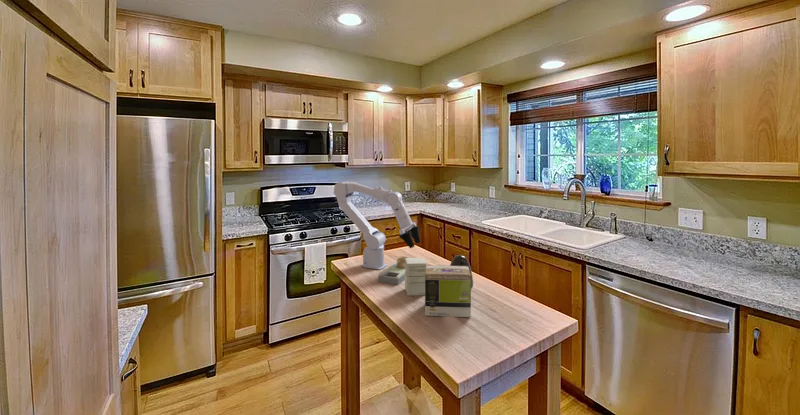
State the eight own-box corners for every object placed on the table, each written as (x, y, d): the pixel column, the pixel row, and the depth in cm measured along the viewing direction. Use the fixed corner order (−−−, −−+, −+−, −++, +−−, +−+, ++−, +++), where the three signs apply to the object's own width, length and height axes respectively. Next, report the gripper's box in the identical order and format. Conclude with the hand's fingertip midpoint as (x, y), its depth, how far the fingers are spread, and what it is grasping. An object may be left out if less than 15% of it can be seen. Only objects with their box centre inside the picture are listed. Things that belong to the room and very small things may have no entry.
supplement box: (404, 288, 143) (404, 257, 141) (423, 287, 144) (423, 257, 142) (406, 295, 136) (406, 263, 134) (426, 295, 137) (426, 263, 135)
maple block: (397, 267, 161) (397, 258, 161) (400, 264, 165) (400, 256, 164) (405, 268, 160) (405, 259, 159) (408, 265, 163) (408, 257, 162)
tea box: (468, 305, 128) (469, 265, 125) (470, 318, 118) (472, 275, 116) (425, 303, 129) (425, 263, 127) (424, 316, 119) (424, 273, 117)
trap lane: (378, 281, 151) (378, 273, 150) (402, 264, 172) (402, 257, 172) (398, 284, 147) (398, 276, 147) (419, 267, 169) (419, 260, 168)
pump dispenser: (449, 300, 132) (450, 259, 130) (443, 289, 143) (443, 251, 140) (476, 298, 133) (477, 259, 131) (468, 288, 144) (469, 251, 141)
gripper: (403, 217, 154) (417, 246, 154) (416, 210, 167) (428, 237, 167) (390, 223, 157) (403, 251, 157) (403, 216, 170) (415, 242, 170)
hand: (415, 245), depth 162 cm, fingers open, 7 cm apart
